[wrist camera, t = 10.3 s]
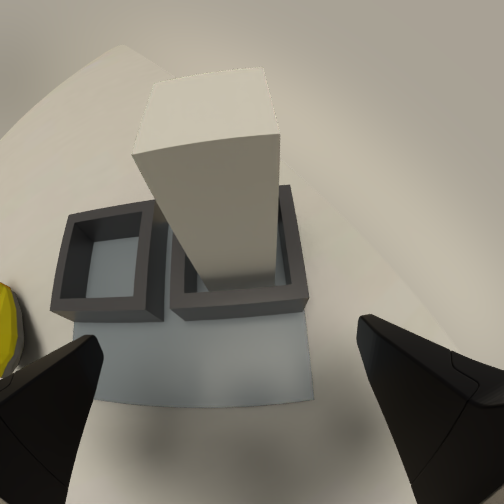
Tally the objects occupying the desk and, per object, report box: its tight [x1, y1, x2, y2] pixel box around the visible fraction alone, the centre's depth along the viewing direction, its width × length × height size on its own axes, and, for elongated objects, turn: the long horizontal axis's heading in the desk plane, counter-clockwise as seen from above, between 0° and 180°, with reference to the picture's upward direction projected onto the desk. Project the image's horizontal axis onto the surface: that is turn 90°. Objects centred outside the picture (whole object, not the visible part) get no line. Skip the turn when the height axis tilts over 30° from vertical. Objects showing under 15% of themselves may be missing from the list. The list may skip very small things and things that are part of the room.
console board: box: [50, 185, 314, 408], centre depth 17 cm, size 13×16×4 cm
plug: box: [132, 67, 280, 292], centre depth 13 cm, size 4×4×12 cm
